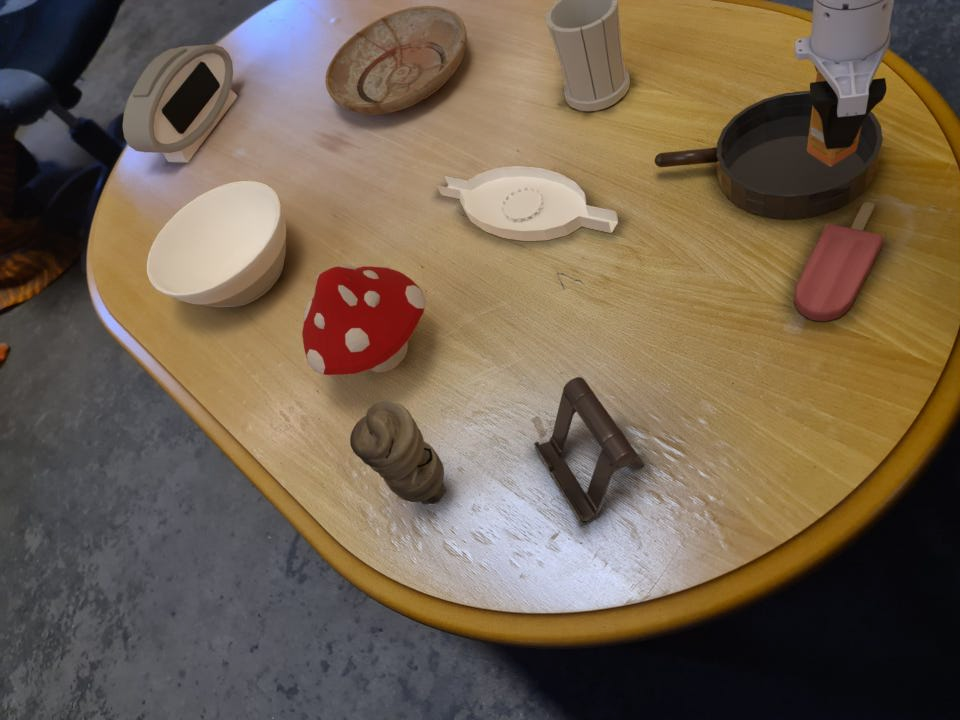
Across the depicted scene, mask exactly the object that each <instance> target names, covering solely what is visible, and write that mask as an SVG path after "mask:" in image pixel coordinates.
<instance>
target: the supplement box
mask: <svg viewBox="0 0 960 720" xmlns="http://www.w3.org/2000/svg"><path fill="white" fill-rule="evenodd" d="M820 81H826V80H825V78H824V77H823V76H822V74H821V73H820V72H819V70H818V69H817V71H816V78H815V82H820ZM860 131H861V128H860V130H859V132H858V134H857V136H856V138H855V140H854V142H853V144H852V145H851V147H847V148H836V149H826V146H825V143H824V137H823V127H822V121H821V118H820V116H819V114H818V112H817V111H816V109H815V108H814V107H813V106H812V114H811V122H810V129H809V137H808V145H807V152H808V153H809V154H811V155H812V156H814V157H815V158H817V159H818V160H820V161H822V162H823V163H825V164H826V165H828V166H830V167H831V166H833V165H835V164H836V163H838V162H839V161H841V160H842V159H844V158H846V157H847V156H849V155H850V154H852V153H853V152H855V151H856V150H857V145H858V141H859V136H860Z"/></svg>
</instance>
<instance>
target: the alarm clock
mask: <svg viewBox="0 0 960 720" xmlns="http://www.w3.org/2000/svg"><path fill="white" fill-rule="evenodd" d="M233 65H234V64H233V60H232V59H231V56H230V53H229V52H228V51H227V50H226V49H225V48H224V47H223V46H221V45H217V44H215V43H213V44H211V43H210V44H197V45H185V46H179V47H175V48H174V47H173V48H168V49H167V50H165V51H163V52H162V53H160V54H159V55H158V56H156V57H155V58H154V59H153V60H152V61H151V62H149V63H148V65H147V66H146V67H145V69H144V70H143V72H142V73H141V75H140V77H139V78H138V80H137V81H136V83H135V85H134V87H133V88H132V91H131V93H130V94H129V97H128V99H127V102H126V105H125V108H124V111H123V117H122V118H123V119H122V131H123V138H124V140H125V141H126V143H127V145H128V147H130V148H132V149H133V150H134V151H135V152H139V153H140V152H141V153H157V154H158V153H159V154H163V156H164V158H165V159H166V160H167V162H168V163H190V160H191V159H192V158H193V157H194V155H195V153H197V152H198V150H199V148H200V147H201V146H202V144H203V143H205V141H206V139H207V138H208V137H209V135H210V134H211V133H212V131H213V130H214V129H215V127H216V126H217V125H218V123H219V122H220V120H221V119H223V117H224V115H225V114H226V113H227V111H228V110H229V109H230V108H231V106H232V105H233V103H234V102H235V101H236V100H237V98H238V94H236V93H235V92H234V91H233V90H232V89H231V88H232V84H233V77H234V67H233Z"/></svg>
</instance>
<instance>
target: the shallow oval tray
mask: <svg viewBox="0 0 960 720" xmlns="http://www.w3.org/2000/svg"><path fill="white" fill-rule="evenodd" d="M443 177H444V179H445V182H446V184H447V186H442V185H439V184H438V185H436V186H437V189H438V191H439V193H440V195H441V196H444V197H449V198H453V199H458V200H459V203H460V204H461V207H462V209H463V212H464V213H465V214H466V216H467V218H468V220H469V221H470V222H471V223H472V224H474V225H475V226H477V227H478V228H479V229H481V230H482V231H484V232H486V233H488V234H491V235H494V236H496V237H500V238H503V239H508V240H514V241H519V242H521V241H522V242H539V241H542V242H543V241H550V240H551V241H552V240H554V239H558V238H561V237H562V238H563V237H566V236H568V235H570V234H571V233H573V232H575V231H577V230H578V229H581V228H586V229H591V230H595V231H600V232H604V233H607V234H612V233H613V232H614V230H615V229H616V227H617V226H618V224H619V218H618V213H617V211H616V210H614V209H613V210H612V209H608V208H603V207H597V206H593V205H588V200H587V197H586V193H585V192H584V190H583V189H582V188H581V187H580V185H578V183H577V182H576V181H574V180H572V179H571V178H569V177H567V176H565V175H564V174H562V173H560V172H556V171H552V170H550V169H547V168H542V167H535V166H523V165H515V166H501V167H500V166H499V167H496V168H492V169H489V170H485V171H482V172H479V173H478V174H476V175H473V177H471V178H469V179H462V178H458V177H452V176H447V175H444V176H443Z"/></svg>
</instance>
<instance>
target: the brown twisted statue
mask: <svg viewBox="0 0 960 720" xmlns="http://www.w3.org/2000/svg"><path fill="white" fill-rule="evenodd" d="M349 443H350V448H351V450H352V452H353V453H354V454H355V455H356V456H357V457H358V458H360V460H361V461H362V462H363V463H364V464H365V465H367V466H369V468H371V470H372V471H374V472H375V473H377V474H378V475H379V476H380V478H382V479H383V481H384V483H385V485H386V486H387V487H388V488H389V490H391V492H393V494H395V495H396V496H397V497H399V498H400V499H402V500H403V501H406V502H408V503H420V504H421V505H435V504H438V503H439V502H440V501H441V500H442V499H443V497H444V496H445V495H446V493H447V487H446V485H445V483H444V479H445V468H444V465H443V462H442V460H441V458H440V457H439V455H438V453H437V451H435V449H434V448H433V446H431V444H430V443H428V442H427V441H425V440H424V436H423V434H422V431H421V430H420V428H419V426H418V424H417V422H416V421H415V419H414V418H413V415H412V414H411V412H410V411H409V410H408V408H407V407H406V406H405V405H403V404H402V403H399V402H397V401H395V400H391V399H382V400H379V401H376V402H374V403H372V404H371V405H370V406H369V408H368V409H367V411H366V413H365V415H364V416H362V417H361V418H360V419H359V420H358V421H357V422H356V423H355V425H354V426H353V428H352V431H351V433H350V441H349Z"/></svg>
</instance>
